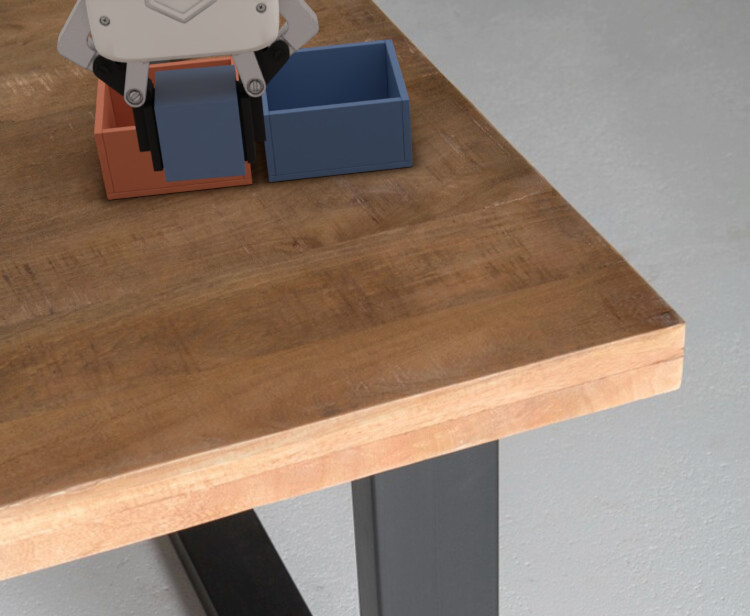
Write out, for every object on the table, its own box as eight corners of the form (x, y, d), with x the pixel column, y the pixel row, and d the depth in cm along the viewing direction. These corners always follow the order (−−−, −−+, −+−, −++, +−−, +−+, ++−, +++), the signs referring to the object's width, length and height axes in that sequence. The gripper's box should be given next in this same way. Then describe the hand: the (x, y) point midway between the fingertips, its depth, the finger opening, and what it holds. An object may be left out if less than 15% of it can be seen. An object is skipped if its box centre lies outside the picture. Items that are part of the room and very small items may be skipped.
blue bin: (269, 182, 109) (260, 115, 105) (261, 117, 117) (253, 53, 114) (412, 166, 110) (409, 99, 106) (395, 103, 118) (391, 38, 114)
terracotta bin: (107, 200, 109) (93, 133, 105) (111, 133, 117) (98, 69, 113) (252, 184, 109) (243, 117, 105) (246, 119, 117) (237, 55, 114)
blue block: (166, 182, 81) (154, 106, 78) (166, 144, 85) (155, 70, 81) (245, 175, 81) (237, 99, 78) (243, 138, 85) (234, 64, 82)
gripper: (-20, -144, 67) (56, 201, 80) (334, -171, 68) (354, 174, 81) (-5, -191, 73) (64, 139, 85) (323, -216, 73) (343, 115, 86)
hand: (204, 153), depth 83 cm, fingers closed on blue block, 4 cm apart
